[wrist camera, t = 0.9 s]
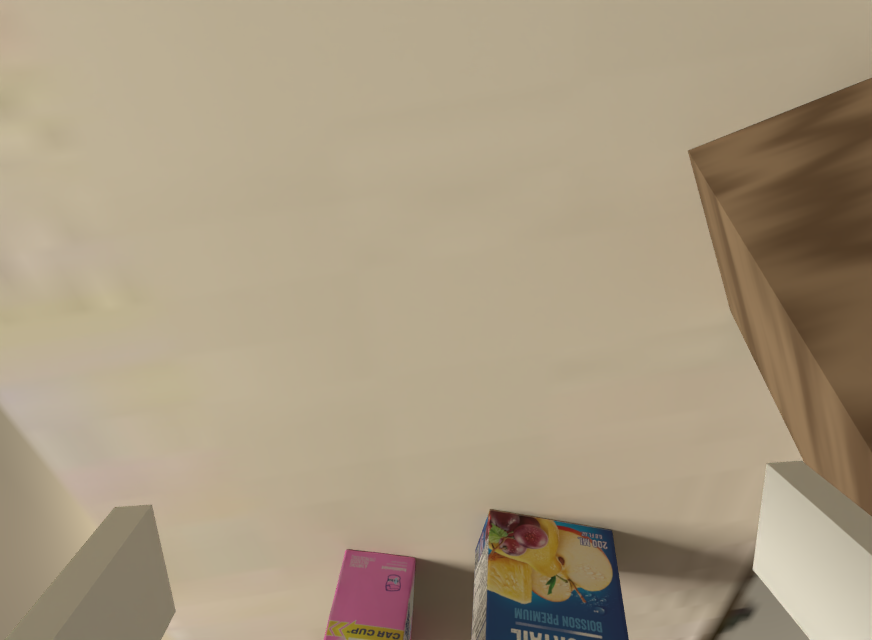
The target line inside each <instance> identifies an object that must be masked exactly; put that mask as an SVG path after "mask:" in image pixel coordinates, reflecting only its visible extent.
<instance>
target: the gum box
mask: <svg viewBox="0 0 872 640" xmlns="http://www.w3.org/2000/svg"><path fill="white" fill-rule="evenodd" d="M414 582H415V558H413V557H406V556H398V555H391V554H384V553H376V552H363V551H355V550H346V551H345V555H344V560H343V563H342V568H341V572H340V575H339V580H338V584H337V588H336V592H335V596H334V600H333V604H332V608H331V612H330V616H329V620H328V624H327V629H326V633H325V637H324V640H411V631H412V616H413V600H414Z"/></svg>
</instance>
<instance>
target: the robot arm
mask: <svg viewBox="0 0 872 640" xmlns="http://www.w3.org/2000/svg"><path fill="white" fill-rule="evenodd" d="M753 570H754V572H755V573H756V574H757V575H758V576H759V578H760V579H761V580H762V581H763V583H764V584H765V585H766V586H767V587H768V589H769V590H770V591H771V592H772V594H773V595H774V596H775V597H776V598H777V600H778V601H779V602H780V603H781V605H782V606H783V607H784V608H785V609H786V611H787V612H788V613H789V614H790V616H791V617H792V618H793V619H794V621H795V622H796V623H797V624H798V625H799V627H800V628H801V629H802V630H803V632H804V633H805V634H806V635H807V636H808V638H809V639H810V640H872V516H870V515H869V514H868V513H867V512H865V511H864V510H863V509H862V508H860V507H859V506H858V505H857V504H855V503H854V502H853V501H852V500H850V499H849V498H848V497H847V496H845V495H844V494H843V493H842V492H840V491H839V490H838V489H836V488H835V487H834V486H833V485H831V484H830V483H829V482H828V481H826V480H825V479H824V478H823V477H821V476H820V475H819V474H818V473H816V472H815V471H814V470H813V469H811V468H810V467H809V466H807V465H806V464H805V463H804V462H802V461H792V462H777V463H767V465H766V473H765V480H764V488H763V495H762V503H761V510H760V518H759V525H758V533H757V541H756V548H755V556H754V563H753ZM175 611H176V610H175V606H174V601H173V597H172V592H171V588H170V584H169V579H168V575H167V570H166V566H165V561H164V557H163V552H162V548H161V543H160V539H159V534H158V530H157V526H156V521H155V517H154V512H153V508H152V505H140V506H125V507H115V508H114V509H113V510H112V511H111V512H110V514H109V515H108V516H107V517H106V518H105V520H104V521H103V522H102V523H101V524H100V526H99V527H98V528H97V529H96V530H95V532H94V533H93V534H92V535H91V537H90V538H89V539H88V540H87V541H86V543H85V544H84V545H83V546H82V547H81V549H80V550H79V551H78V552H77V553H76V555H75V556H74V557H73V558H72V559H71V561H70V562H69V563H68V564H67V566H66V567H65V568H64V569H63V570H62V571H61V573H60V574H59V575H58V576H57V577H56V579H55V580H54V581H53V582H52V583H51V585H50V586H49V587H48V588H47V589H46V591H45V592H44V593H43V594H42V595H41V597H40V598H39V599H38V600H37V602H36V603H35V604H34V605H33V606H32V608H31V609H30V610H29V611H28V613H27V614H26V615H25V616H24V617H23V619H22V620H21V621H20V622H19V623H18V624H17V626H16V627H15V628H14V629H13V630H12V632H11V633H10V634H9V635H8V636H7V638H6V639H5V640H161V639H162V637H163V635H164V633H165V631H166V629H167V627H168V625H169V623H170V621H171V619H172V617H173V615H174V613H175Z"/></svg>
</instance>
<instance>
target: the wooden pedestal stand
mask: <svg viewBox="0 0 872 640" xmlns="http://www.w3.org/2000/svg"><path fill="white" fill-rule="evenodd" d="M688 153H689V157H690V160H691V164H692V168H693V172H694V175H695V179H696V183H697V187H698V190H699V194H700V198H701V202H702V205H703V209H704V213H705V217H706V220H707V224H708V228H709V232H710V235H711V239H712V243H713V247H714V250H715V254H716V258H717V262H718V265H719V269H720V273H721V277H722V280H723V284H724V288H725V292H726V295H727V299H728V303H729V307H730V310H731V313H732V315H733V317H734V319H735V321H736V323H737V325H738V327H739V329H740V331H741V333H742V335H743V338H744V340H745V342H746V344H747V346H748V348H749V350H750V352H751V354H752V356H753V358H754V360H755V362H756V364H757V366H758V368H759V370H760V372H761V374H762V376H763V379H764V381H765V383H766V385H767V387H768V389H769V391H770V393H771V395H772V397H773V399H774V401H775V403H776V405H777V407H778V409H779V411H780V413H781V415H782V417H783V420H784V422H785V424H786V426H787V428H788V430H789V432H790V434H791V436H792V438H793V440H794V442H795V444H796V446H797V448H798V450H799V452H800V454H801V456H802V458H803V461H804V463H805V464H806V465H807V466H809V467H810V468H811V469H813V470H814V471H815V472H816V473H818V474H819V475H820V476H821V477H823V478H824V479H825V480H826V481H828V482H829V483H830V484H831V485H833V486H834V487H835V488H836V489H838V490H839V491H840V492H842V493H843V494H844V495H845V496H847V497H848V498H849V499H850V500H852V501H853V502H854V503H855V504H857V505H858V506H859V507H860V508H862V509H863V510H864V511H865V512H867V513H868V514H869V515H870V516H872V78H870V79H868V80H865V81H863V82H860V83H858V84H855V85H852V86H850V87H847V88H845V89H842V90H840V91H837V92H835V93H832V94H830V95H827V96H825V97H822V98H820V99H817V100H815V101H812V102H810V103H807V104H805V105H802V106H800V107H797V108H795V109H792V110H790V111H787V112H785V113H782V114H779V115H777V116H774V117H772V118H769V119H767V120H764V121H762V122H759V123H757V124H754V125H752V126H749V127H747V128H744V129H742V130H739V131H737V132H734V133H732V134H729V135H727V136H724V137H722V138H719V139H717V140H714V141H712V142H709V143H706V144H704V145H701V146H699V147H696V148H694V149H691V150H689V151H688Z"/></svg>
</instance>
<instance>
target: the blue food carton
mask: <svg viewBox="0 0 872 640" xmlns="http://www.w3.org/2000/svg"><path fill="white" fill-rule="evenodd" d="M471 640H629V639H628V632H627V626H626V619H625V613H624V606H623V599H622V593H621V586H620V580H619V573H618V566H617V560H616V553H615V547H614V540H613V533H612V530H609V529H603V528H597V527H591V526H585V525H579V524H573V523H567V522H562V521H556V520H550V519H544V518H538V517H532V516H526V515H520V514H514V513H509V512H503V511H497V510H491V509H490V511H489V514H488V517H487V519H486V522H485V525H484V528H483V530H482V533H481V536H480V539H479V542H478V544H477V547H476V553H475V573H474V593H473V613H472V633H471Z"/></svg>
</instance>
